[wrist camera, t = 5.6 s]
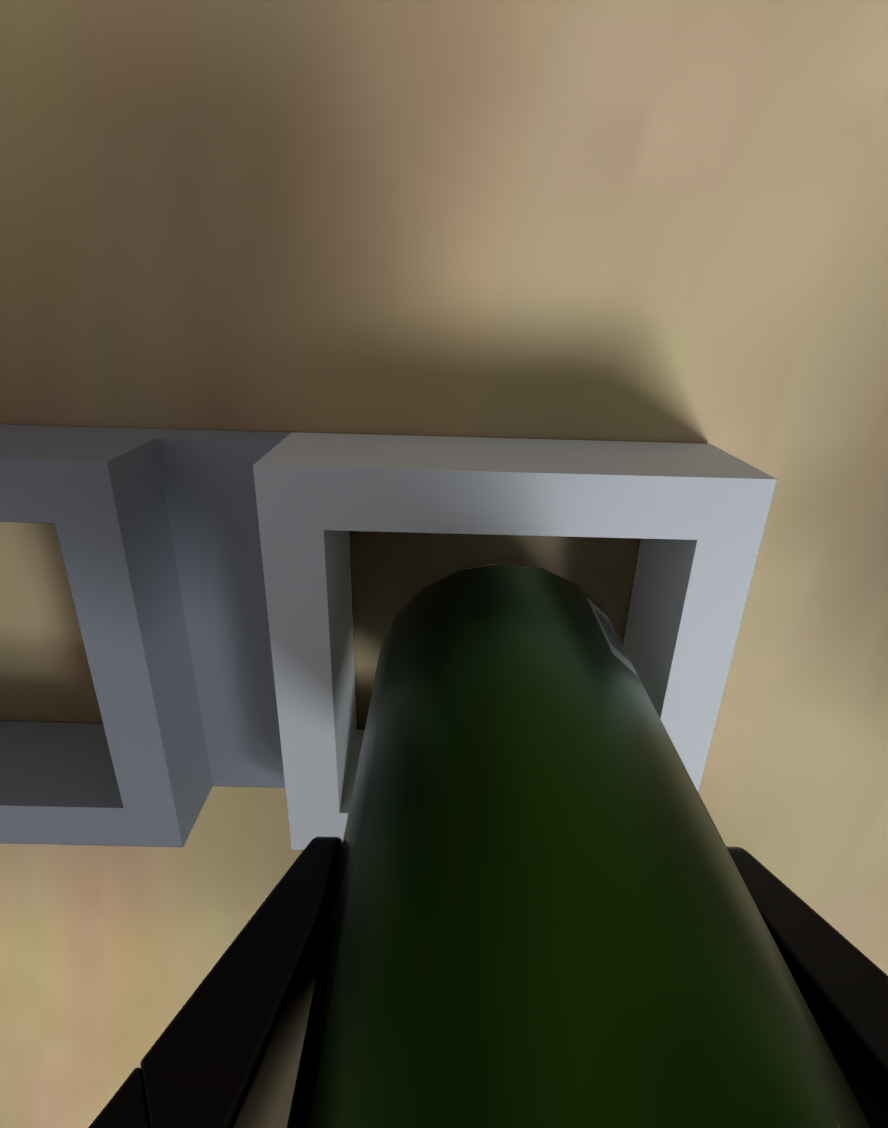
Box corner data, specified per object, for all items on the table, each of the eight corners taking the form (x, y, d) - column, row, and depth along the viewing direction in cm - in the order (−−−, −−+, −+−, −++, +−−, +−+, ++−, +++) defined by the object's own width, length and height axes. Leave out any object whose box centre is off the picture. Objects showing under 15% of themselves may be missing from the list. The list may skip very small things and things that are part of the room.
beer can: (526, 501, 13) (1100, 1929, 2) (657, 675, 14) (1389, 1966, 3) (332, 638, 14) (-114, 1937, 3) (473, 783, 16) (535, 1960, 4)
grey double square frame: (709, 443, 14) (776, 479, 11) (644, 770, 17) (681, 858, 15) (-248, 417, 13) (-426, 447, 11) (-107, 752, 17) (-213, 838, 14)
